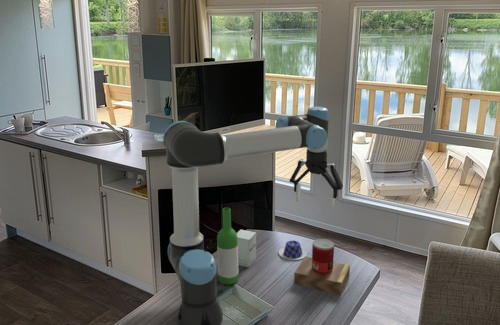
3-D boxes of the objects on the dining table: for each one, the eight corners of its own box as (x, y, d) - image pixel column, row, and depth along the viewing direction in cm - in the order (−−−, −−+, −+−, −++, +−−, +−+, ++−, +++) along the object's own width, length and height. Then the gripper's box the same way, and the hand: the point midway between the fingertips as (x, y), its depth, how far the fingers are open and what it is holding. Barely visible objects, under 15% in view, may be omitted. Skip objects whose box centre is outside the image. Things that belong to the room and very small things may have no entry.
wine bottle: (222, 273, 185) (219, 203, 176) (241, 276, 184) (239, 205, 174) (215, 284, 178) (212, 212, 169) (235, 287, 176) (233, 214, 167)
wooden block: (294, 284, 178) (294, 271, 176) (304, 267, 189) (305, 255, 187) (341, 295, 171) (341, 282, 169) (349, 277, 182) (350, 265, 180)
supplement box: (249, 268, 189) (248, 239, 185) (232, 264, 192) (232, 236, 188) (256, 259, 195) (256, 232, 191) (240, 255, 199) (240, 228, 194)
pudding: (307, 262, 194) (307, 250, 192) (278, 260, 195) (278, 249, 193) (306, 247, 205) (307, 237, 203) (279, 246, 206) (279, 236, 204)
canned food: (332, 275, 174) (333, 249, 171) (310, 273, 176) (311, 247, 172) (333, 264, 181) (334, 239, 178) (312, 262, 183) (313, 237, 179)
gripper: (353, 150, 170) (350, 204, 177) (288, 142, 181) (288, 194, 187) (347, 156, 164) (344, 212, 171) (281, 148, 174) (281, 200, 181)
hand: (315, 202), depth 179 cm, fingers open, 13 cm apart
